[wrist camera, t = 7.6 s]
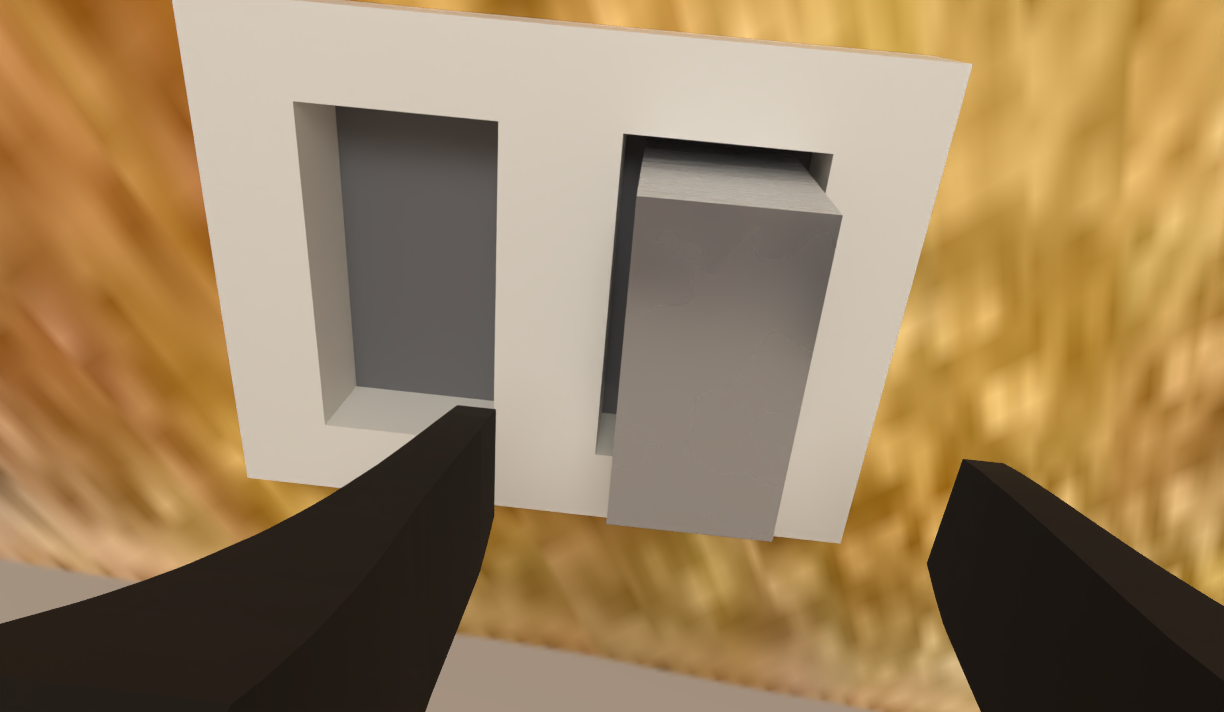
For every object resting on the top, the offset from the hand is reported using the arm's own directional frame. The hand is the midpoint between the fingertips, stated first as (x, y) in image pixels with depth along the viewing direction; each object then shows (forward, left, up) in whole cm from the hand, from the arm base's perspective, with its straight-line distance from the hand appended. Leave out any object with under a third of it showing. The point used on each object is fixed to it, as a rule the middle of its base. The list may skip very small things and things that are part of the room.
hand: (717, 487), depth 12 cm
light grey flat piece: (-4, 0, -9) cm, 10 cm away
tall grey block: (0, 0, -9) cm, 9 cm away
